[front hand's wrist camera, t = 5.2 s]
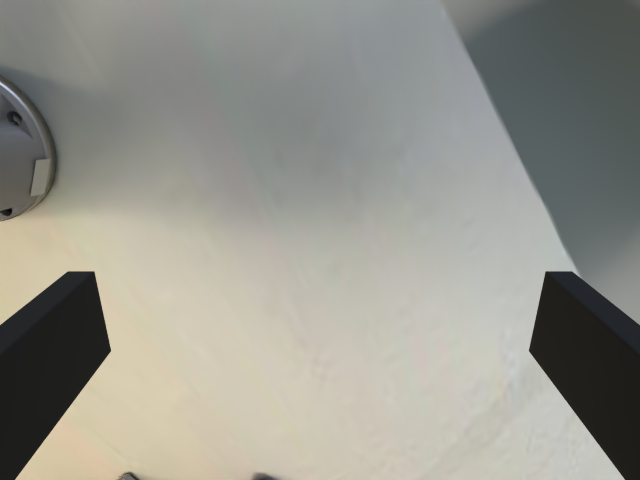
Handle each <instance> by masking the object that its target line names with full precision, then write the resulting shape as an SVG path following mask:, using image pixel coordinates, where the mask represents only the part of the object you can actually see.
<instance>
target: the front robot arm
mask: <svg viewBox="0 0 640 480" xmlns="http://www.w3.org/2000/svg"><path fill="white" fill-rule="evenodd" d="M55 169H56V154H55V147H54V143H53V139H52V136H51V133H50V131H49V128H48V126H47V124H46V122H45V120H44V118H43V117H42V115H41V114H40V112H39V111H38V109H37V108H36V107H35V105H34V104H33V103H32V102H31V101H30V99H29V98H28V97H27V96H26V95H25V94H24V93H23V92H22V91H21V90H19V89H18V88H17V87H16V86H15V85H13V84H12V83H10V82H9V81H8V80H6V79H4V78H3V77H1V76H0V221H4V220H8V219H11V218H13V217H16V216H18V215H20V214H22V213H24V212H26V211H28V210H30V209H32V208H33V207H35V206H36V205H37V204H38V203H39V202H40V201H41V200H42V199H43V198H44V197H45V196H46V194H47V193H48V191H49V189H50V187H51V185H52V182H53V179H54V175H55ZM110 352H111V348H110V344H109V339H108V334H107V329H106V325H105V320H104V315H103V311H102V306H101V301H100V296H99V292H98V287H97V282H96V277H95V273H94V272H67V273H65V274H64V275H63V276H62V277H60V278H59V279H58V280H57V281H55V282H54V283H53V284H52V285H50V286H49V287H48V288H47V289H45V290H44V291H43V292H42V293H40V294H39V295H38V296H36V297H35V298H34V299H33V300H31V301H30V302H29V303H28V304H26V305H25V306H24V307H23V308H21V309H20V310H19V311H18V312H16V313H15V314H14V315H13V316H11V317H10V318H9V319H8V320H6V321H5V322H4V323H3V324H1V325H0V480H15V479H16V477H17V476H18V475H19V473H20V472H21V471H22V469H23V468H24V467H25V465H26V464H27V463H28V461H29V460H30V459H31V457H32V456H33V455H34V453H35V452H36V451H37V449H38V448H39V447H40V445H41V444H42V443H43V441H44V440H45V439H46V437H47V436H48V435H49V433H50V432H51V431H52V429H53V428H54V427H55V425H56V424H57V423H58V421H59V420H60V419H61V417H62V416H63V415H64V413H65V412H66V411H67V409H68V408H69V407H70V405H71V404H72V403H73V401H74V400H75V398H76V397H77V396H78V394H79V393H80V392H81V390H82V389H83V388H84V386H85V385H86V384H87V382H88V381H89V380H90V378H91V377H92V376H93V374H94V373H95V372H96V370H97V369H98V368H99V366H100V365H101V364H102V362H103V361H104V360H105V358H106V357H107V356H108V354H109V353H110ZM529 352H530V353H531V354H532V356H533V357H534V358H535V360H536V361H537V362H538V364H539V365H540V366H541V368H542V369H543V370H544V372H545V373H546V374H547V376H548V377H549V378H550V380H551V381H552V382H553V384H554V385H555V386H556V388H557V389H558V390H559V392H560V393H561V394H562V396H563V397H564V399H565V400H566V401H567V403H568V404H569V405H570V407H571V408H572V409H573V411H574V412H575V413H576V415H577V416H578V417H579V419H580V420H581V421H582V423H583V424H584V425H585V427H586V428H587V429H588V431H589V432H590V433H591V435H592V436H593V437H594V439H595V440H596V441H597V443H598V444H599V445H600V447H601V448H602V449H603V451H604V452H605V453H606V455H607V456H608V457H609V459H610V460H611V461H612V463H613V464H614V465H615V467H616V468H617V469H618V471H619V472H620V473H621V475H622V476H623V477H624V479H625V480H640V325H639V324H637V323H636V322H635V321H634V320H632V319H631V318H630V317H629V316H627V315H626V314H625V313H624V312H622V311H621V310H620V309H619V308H617V307H616V306H615V305H614V304H612V303H611V302H610V301H609V300H607V299H606V298H605V297H604V296H602V295H601V294H600V293H598V292H597V291H596V290H595V289H593V288H592V287H591V286H590V285H588V284H587V283H586V282H585V281H583V280H582V279H581V278H580V277H578V276H577V275H576V274H575V273H573V272H546V273H545V277H544V282H543V287H542V292H541V296H540V301H539V306H538V311H537V315H536V320H535V325H534V329H533V334H532V339H531V344H530V348H529Z"/></svg>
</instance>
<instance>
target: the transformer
mask: <svg viewBox="0 0 640 480" xmlns="http://www.w3.org/2000/svg"><path fill="white" fill-rule="evenodd" d="M120 477H123V478H122V479H120V480H135V479H134V478H133V477H132V476H131V475H130V474H125V475H122V476H120Z"/></svg>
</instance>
